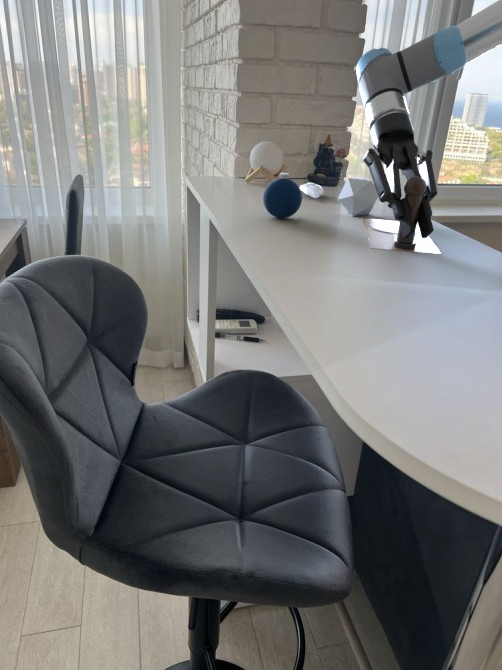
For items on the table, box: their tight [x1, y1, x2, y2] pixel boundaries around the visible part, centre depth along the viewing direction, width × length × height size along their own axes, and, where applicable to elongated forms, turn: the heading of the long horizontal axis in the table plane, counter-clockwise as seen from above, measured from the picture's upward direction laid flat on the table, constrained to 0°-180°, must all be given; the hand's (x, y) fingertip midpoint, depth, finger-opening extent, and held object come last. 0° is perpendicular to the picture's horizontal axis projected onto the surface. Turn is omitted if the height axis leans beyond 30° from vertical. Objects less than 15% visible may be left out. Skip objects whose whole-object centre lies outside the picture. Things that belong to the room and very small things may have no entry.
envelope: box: [360, 217, 443, 255], centre depth 101 cm, size 13×24×1 cm, turn 173°
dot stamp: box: [393, 176, 427, 250], centre depth 91 cm, size 4×4×12 cm
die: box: [336, 176, 379, 217], centre depth 116 cm, size 8×9×10 cm
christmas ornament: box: [262, 172, 303, 219], centre depth 109 cm, size 8×8×10 cm
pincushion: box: [299, 177, 324, 199], centre depth 134 cm, size 12×6×6 cm, turn 6°
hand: (418, 234), depth 88 cm, fingers closed on dot stamp, 3 cm apart
